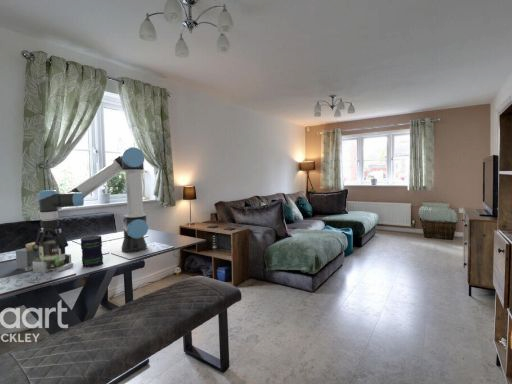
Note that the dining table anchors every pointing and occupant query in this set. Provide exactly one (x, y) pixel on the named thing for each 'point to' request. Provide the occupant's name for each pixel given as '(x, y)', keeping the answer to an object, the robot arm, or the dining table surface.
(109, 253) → the dining table surface
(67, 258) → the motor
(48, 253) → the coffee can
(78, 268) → the dining table surface
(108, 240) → the dining table surface
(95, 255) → the storage jar
